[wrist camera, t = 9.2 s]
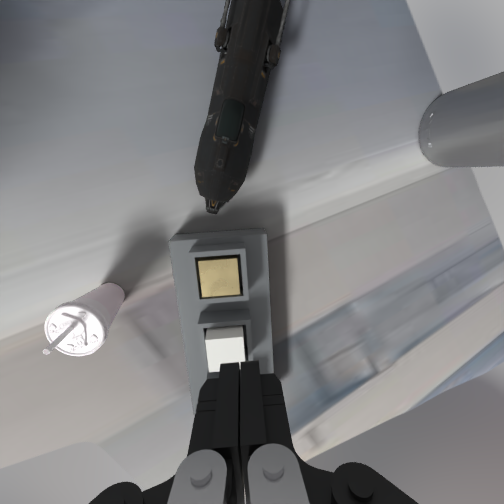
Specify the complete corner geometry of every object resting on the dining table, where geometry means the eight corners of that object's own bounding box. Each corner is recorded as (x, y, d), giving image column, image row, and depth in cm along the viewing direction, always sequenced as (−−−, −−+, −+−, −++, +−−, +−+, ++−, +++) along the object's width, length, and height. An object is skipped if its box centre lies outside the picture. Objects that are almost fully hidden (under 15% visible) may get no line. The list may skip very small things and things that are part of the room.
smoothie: (120, 266, 40) (61, 316, 26) (142, 305, 41) (98, 370, 28) (78, 284, 40) (-2, 341, 26) (102, 322, 42) (39, 394, 28)
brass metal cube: (237, 250, 36) (237, 258, 33) (239, 283, 37) (240, 294, 34) (201, 253, 36) (197, 261, 32) (205, 286, 37) (202, 297, 34)
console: (263, 228, 39) (269, 239, 33) (272, 387, 46) (278, 423, 40) (174, 234, 39) (162, 247, 32) (197, 393, 46) (190, 432, 39)
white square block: (242, 322, 36) (243, 336, 33) (244, 352, 38) (245, 369, 35) (207, 325, 36) (205, 340, 33) (211, 355, 38) (209, 372, 34)
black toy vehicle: (289, 8, 33) (307, -46, 25) (237, 217, 39) (238, 227, 31) (231, -13, 32) (231, -74, 25) (186, 205, 38) (174, 211, 30)
